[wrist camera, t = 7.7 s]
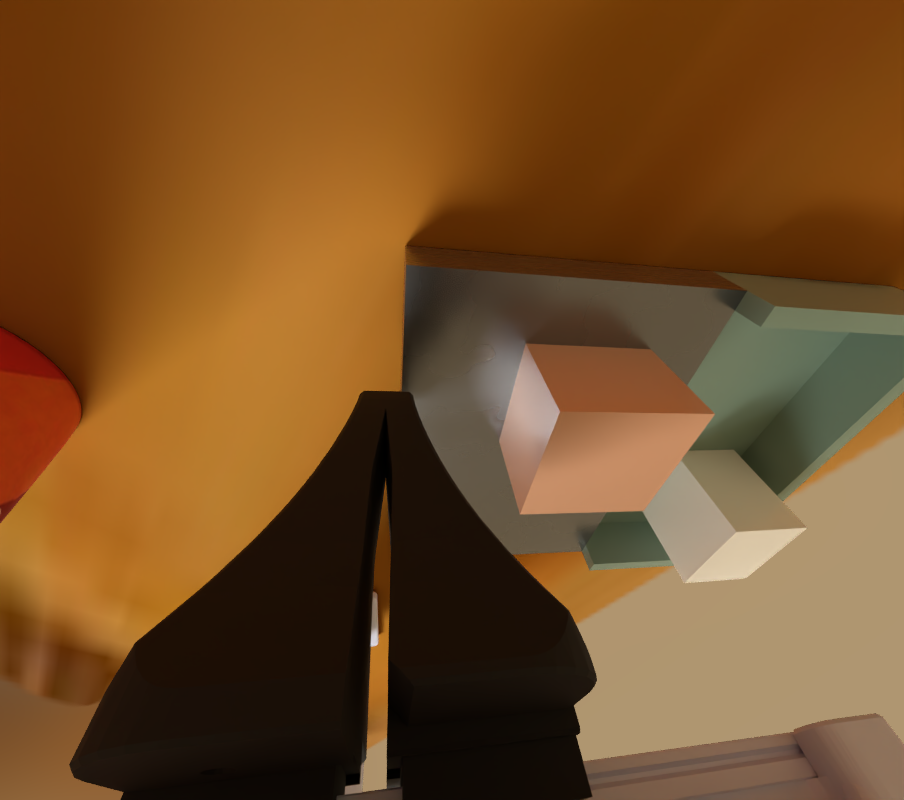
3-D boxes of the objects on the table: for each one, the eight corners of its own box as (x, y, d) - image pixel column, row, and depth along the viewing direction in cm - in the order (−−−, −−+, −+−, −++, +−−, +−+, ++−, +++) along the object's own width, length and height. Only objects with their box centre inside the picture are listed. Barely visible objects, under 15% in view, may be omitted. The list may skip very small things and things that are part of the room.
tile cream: (684, 583, 16) (745, 578, 16) (736, 531, 13) (807, 527, 14) (638, 504, 19) (690, 502, 19) (673, 450, 17) (733, 449, 17)
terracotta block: (498, 441, 13) (519, 514, 11) (525, 343, 11) (560, 411, 8) (603, 441, 14) (643, 511, 11) (650, 349, 11) (715, 414, 9)
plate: (395, 531, 19) (395, 559, 18) (405, 245, 10) (405, 264, 9) (571, 525, 20) (582, 551, 19) (712, 271, 11) (747, 290, 10)
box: (571, 525, 20) (589, 570, 18) (712, 271, 11) (775, 306, 10) (685, 521, 21) (713, 563, 19) (893, 286, 13) (982, 320, 11)
